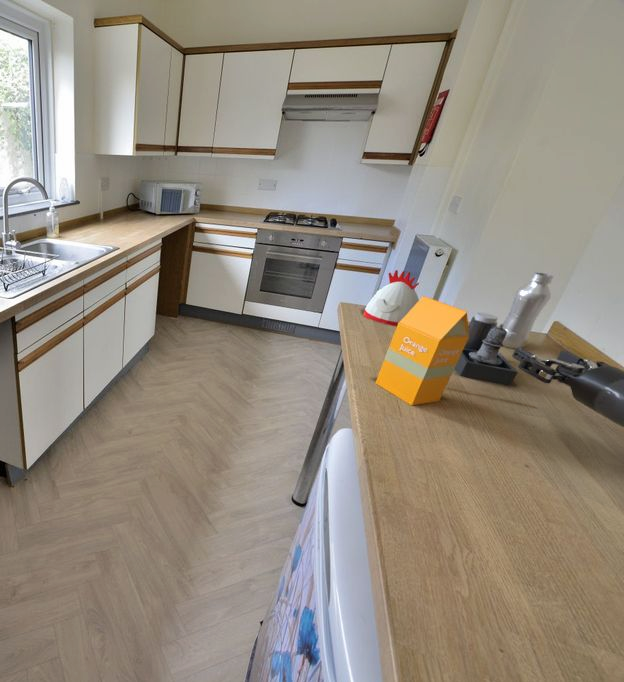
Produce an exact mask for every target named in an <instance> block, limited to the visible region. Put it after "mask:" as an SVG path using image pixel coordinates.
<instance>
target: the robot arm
mask: <svg viewBox="0 0 624 682" xmlns="http://www.w3.org/2000/svg"><path fill="white" fill-rule="evenodd" d="M512 358H513V359H514V360H517V361H518V362H520V363H519V365H518V366H517V368H518V369H519V370H520V371H523V372H525V373H526V374H528V375H530V376H531V377H533V378H535V379H537V380H538V381H540V382H542V383H544V384H551V383H552V381H555V382H558V383H559V384H561V385H563V386H566V387H569V388H570V391H571V395H572V397H573V398H574V399H575V400H576V402H578V403H580V404H582V405H584V406H586V407H587V408H589V409H591V410H592V411H594V412H595V413H597V414H599V415H600V416H602V417H603V418H606V419H608V421H611V422H612V423H614V424H616V425H618V426H620V427H622V428H624V370H622V369H620V368H618V367H615V366H612V365H610V364H608V363H606V362H604V361H599V360H597V361H596V362H594V361H593V360H592V359H589V358H582V357H580V356H578V355H577V354H574V353H572V352H570V351H568V350H561V351H560V352H559V354H558V356H557V357H556V358H553V357H551V358H544V357H541V356H539V355H536V354H534V353H532V352H531V351H528V350H526V349H525V348H524V347H522V348H516V349H515V350H514V351H513V353H512ZM553 365H557V366H556V368H555V369H554V367H552V366H553Z"/></svg>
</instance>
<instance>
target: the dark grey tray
mask: <svg viewBox="0 0 624 682" xmlns="http://www.w3.org/2000/svg"><path fill="white" fill-rule="evenodd" d="M470 352H478V351H477V350H471V349H466V348H464V349H463V351H462V353H461V355H460V358H459V360H458V362H457V364H456V367H455V369H454V370H456V372H457V373H458V375H459V376H460V377H463V378H469V379H473V380H478V381H483V382H488V383H494V384H498V385H503V386H509V387H511V386H512V384H513V382H514V380H515V378H516V377H517V374H518V373H519V372H518V370H517V369H516V368H515V367H514V366H513V365H512V364H511V363H510V362H509V361H508V360H507V358H505V357H504V356H503V354H502V353H501V352H500V350H499V351H498V353H497V358H498V359H500V360H501V361H502V363H501V364H499V365H498V366H497V367H495V366H490V365H484V364H479V363H474V362H470V361H469V357H470V355H469V353H470Z"/></svg>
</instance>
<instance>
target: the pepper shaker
mask: <svg viewBox="0 0 624 682" xmlns="http://www.w3.org/2000/svg"><path fill="white" fill-rule="evenodd" d="M498 319H499V318H498V316H496V315H493V314H491V313H486V312H476V314H475V316H472V317H471V319H470V322H468V330H469V338H468V341H467V343H466V345H465V347H464V348H466V349H471V350H477V351H479V349H480V348H481V346H482V344H483V341H482V340H483V339H486V337H487V335H488V333H489V331H490V329H491V328H493V327H498V324H499V323H498V322H497V321H498Z"/></svg>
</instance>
